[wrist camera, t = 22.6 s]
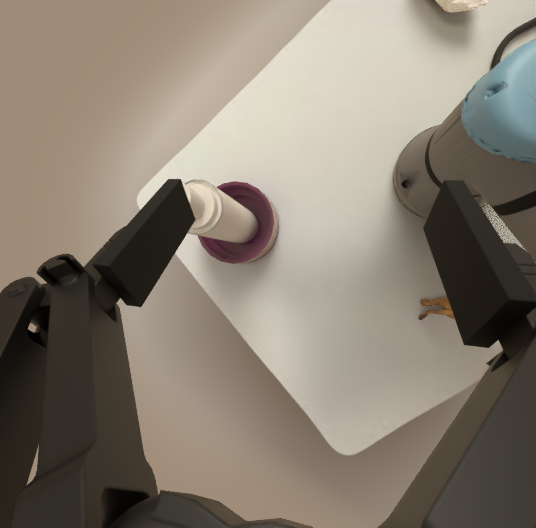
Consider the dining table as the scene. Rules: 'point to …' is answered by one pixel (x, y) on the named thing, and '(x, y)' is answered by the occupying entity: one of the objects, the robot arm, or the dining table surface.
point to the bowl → (266, 226)
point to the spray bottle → (219, 214)
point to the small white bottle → (460, 4)
